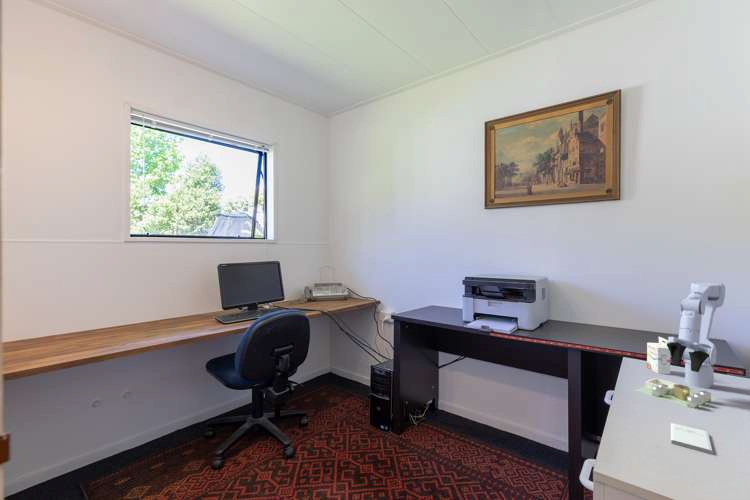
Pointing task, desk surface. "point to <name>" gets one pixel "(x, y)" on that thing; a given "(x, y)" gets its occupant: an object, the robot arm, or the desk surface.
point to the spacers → (691, 400)
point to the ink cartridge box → (658, 357)
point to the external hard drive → (690, 438)
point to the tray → (660, 381)
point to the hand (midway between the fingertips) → (685, 368)
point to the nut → (680, 391)
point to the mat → (670, 397)
